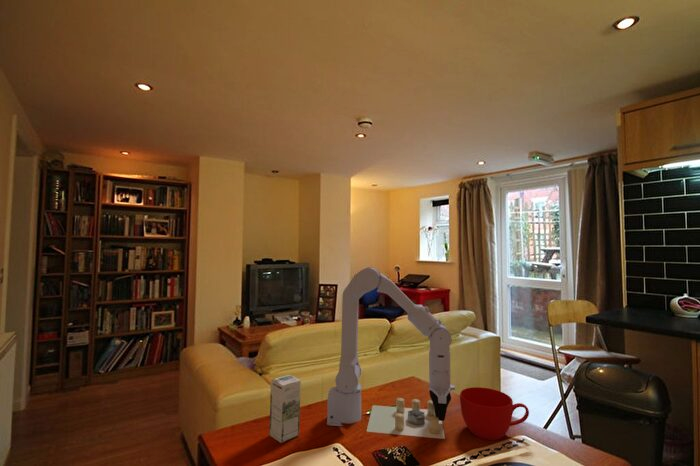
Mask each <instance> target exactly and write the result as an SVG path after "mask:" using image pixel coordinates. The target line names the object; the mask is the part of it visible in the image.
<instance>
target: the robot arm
mask: <svg viewBox="0 0 700 466" xmlns="http://www.w3.org/2000/svg"><path fill="white" fill-rule="evenodd" d="M376 288H377V290H376V292H377V293H381V294H386V295H388V296H389V297H390V299H392V300H393V301H395V303H396V304H398V305H399V306H400V308H402V309H403V310H404V311H405V312H406V313H407V320H408V321H409V322H410V323H411V324H412V325H413V326H414V327H415V328H416V329H418V331H419V332H420V333H421V334H422V335H424V336H425V337H427V338H428V339H429V350H428V351H429V352H428V366H429V367H428V369H429V370H428V372H429V373H428V378H429V379H428V380H429V382H428V389H429V391H428V392H429V396H430V397H429V398H430V400H432V402H433V405H434V409H435V416H436V417H438V418H439V421H442V422H445V419H446V416H447V415H446V414H447V409H448V407H449V404H450V402H451V401H452V396H451V391H455V390H456V386H455V385H454V384H452V383H451V352H450V349H451V347H450V346H451V345H452V341H453V338H452V335H451V333H450V331H449V329H448V328H447V327H446V325H445V324H444V323H442V321H441V319H437V318H436V317H435V315H433V314H432V313H431V312H430V308H429V307H428V306H427V305H426V306H423V304H415V303H414V302H413V301H412V300H411V299H410V298H409V297H408V296H407V295H406V294H405V293H404V292H403V291H402V290H401V289H400V288H399V287H398V286H397V284H395V283H394V282H393V280H391V279H390V278H389V277H388V276H386V275H385V274H384V273H381V272H380V271H379V269H377V268H375V267H372V266H366V267H365V268H363V269H361V270H360V271H358V272H357V273H355V274H354V275H353V277H352V278H351V280H350V282H349V283H348V284H347V285H346V287H345V288H344V289H343V291H342V300H341V302H342V303H341V308H342V309H341V339H340V341H341V345H340V346H341V347H340V359H339V364H338V366H339V367H338V372H337V374H336V375H335V386H331V387H330V388H329V389H328V393H327V394H328V395H327V407H326V408H327V414H326V415H327V417H326V418H327V420H326V421H327V422H326V425H327V426H331V427H332V426H333V427H344V425H343V424H355V423H358V422H360V421H361V419H362V385H361V384H360V382H359V379H360V377H361V374H362V368H361V366H360V363H359V354H358V347H359V346H358V344H359V343H358V342H359V338H358V337H359V302H360V301H359V300H360V299H361V298H362V297H363V296H364V295H366V293H369V292H371V291H373V290H375V289H376Z"/></svg>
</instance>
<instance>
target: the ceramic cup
mask: <svg viewBox="0 0 700 466" xmlns="http://www.w3.org/2000/svg"><path fill="white" fill-rule="evenodd" d="M459 400H460V401H459V402H460V404H459V405H460V409H461V415H462V418H463V422H464V423H465V425H466V427H467V428H468V429H469V431H470V432H471V434H473V435H474V436H475V437H477V438H480V439H482V440H483V439H484V440H489V441H495V440H500V439H502V438H504V436H505V435H506V433H507V432H508V431H509V430H510V427H512V426H516V425H519V424H522V423H524V422H525V421H526V420H527V419H528V417H529V416H530V411H529V408H528V406H527V405H526V404H523V403H521V402H519V403H514V401H513V399H512V398H511V396H509V395H508V394H506V393H505V392H503V391H501V390H497V389H493V388H489V387H488V388H487V387H479V386H478V387H467V388H464V389H462V390H461V391H460V393H459ZM517 408H524V409H525V413H524V415H523V416H522V417H521V418H519V419H516V420H513V421H512V419H513V418H512V417H513V414H514V411H515V410H516V409H517Z"/></svg>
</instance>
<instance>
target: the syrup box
mask: <svg viewBox="0 0 700 466" xmlns="http://www.w3.org/2000/svg"><path fill="white" fill-rule="evenodd" d="M301 384H302V381H301V380H300V379H299V378H297V377H296V376H294V375H291V374H286V375H283V376H280V377H276V378H272V379H271V380H270V392H269V393H270V394H269V396H270V397H269V402H270V403H269V426H268V427H269V429H268V430H269V431H268V432H269V433H268V434H269V436H270V437H271V438H273V440H276V441H278V443H280V444H283V443H285V442H287V441H290V440H292V439H295V438H296V437H298V436H300V423H301V421H300V418H301V388H302V387H301Z"/></svg>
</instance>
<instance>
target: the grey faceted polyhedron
mask: <svg viewBox="0 0 700 466" xmlns="http://www.w3.org/2000/svg"><path fill="white" fill-rule="evenodd" d="M408 423H410V424H413V425H416V426H418V425H423V424H425V415H424V412H421V411H418V410H412V411H408Z"/></svg>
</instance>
